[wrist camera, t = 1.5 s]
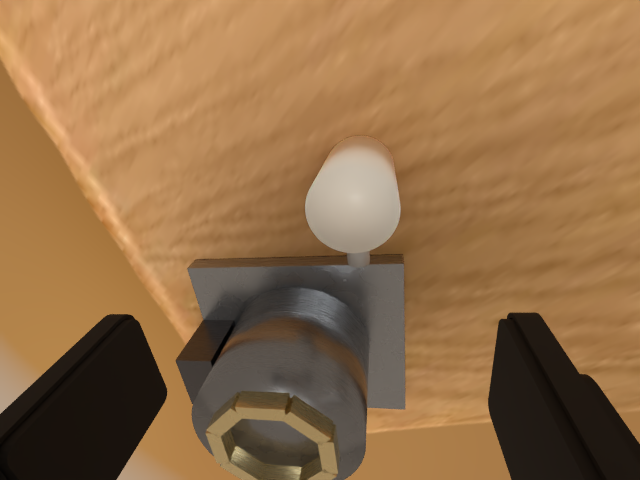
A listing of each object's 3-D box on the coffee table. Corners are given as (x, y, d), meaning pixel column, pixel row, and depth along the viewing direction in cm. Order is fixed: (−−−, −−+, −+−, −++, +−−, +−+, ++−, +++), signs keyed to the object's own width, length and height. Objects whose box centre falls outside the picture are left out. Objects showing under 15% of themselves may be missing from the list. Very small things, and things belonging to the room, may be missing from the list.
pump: (393, 132, 24) (399, 160, 17) (395, 222, 27) (401, 278, 20) (321, 138, 25) (299, 167, 18) (331, 224, 28) (314, 279, 21)
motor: (402, 254, 28) (416, 365, 18) (404, 396, 35) (414, 536, 24) (195, 259, 31) (103, 355, 21) (234, 388, 38) (179, 508, 28)
